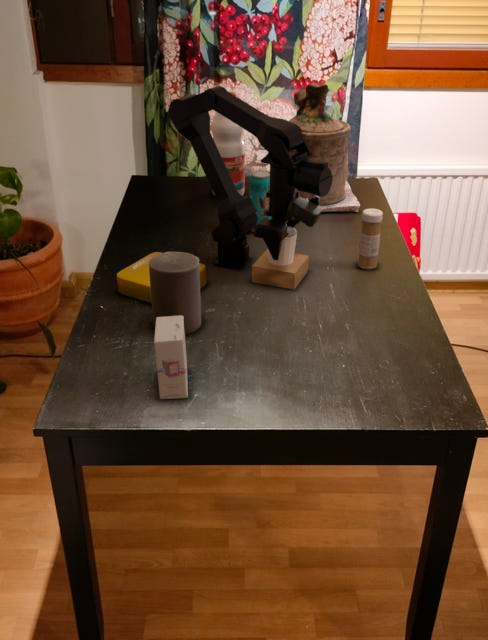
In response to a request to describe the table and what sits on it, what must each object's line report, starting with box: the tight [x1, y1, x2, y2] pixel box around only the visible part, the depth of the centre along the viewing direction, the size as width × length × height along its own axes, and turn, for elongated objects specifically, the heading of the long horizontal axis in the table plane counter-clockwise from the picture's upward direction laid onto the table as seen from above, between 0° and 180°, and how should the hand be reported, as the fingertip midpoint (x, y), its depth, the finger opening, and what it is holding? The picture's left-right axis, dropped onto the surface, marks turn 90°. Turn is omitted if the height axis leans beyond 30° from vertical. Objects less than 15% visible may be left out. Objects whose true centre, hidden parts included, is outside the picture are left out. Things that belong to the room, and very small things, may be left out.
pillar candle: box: [149, 251, 202, 335], centre depth 139 cm, size 10×10×15 cm
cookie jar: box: [288, 83, 361, 213], centre depth 195 cm, size 25×25×32 cm
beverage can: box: [249, 169, 271, 233], centre depth 180 cm, size 6×6×15 cm
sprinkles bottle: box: [357, 208, 384, 270], centre depth 163 cm, size 5×5×13 cm
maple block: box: [251, 248, 310, 290], centre depth 160 cm, size 10×10×4 cm
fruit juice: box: [210, 91, 246, 197], centre depth 199 cm, size 9×9×28 cm
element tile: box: [116, 251, 208, 305], centre depth 155 cm, size 15×15×5 cm
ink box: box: [153, 315, 189, 400], centre depth 122 cm, size 8×5×12 cm, turn 5°
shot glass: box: [266, 226, 298, 266], centre depth 157 cm, size 7×7×7 cm
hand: (280, 254), depth 159 cm, fingers closed on shot glass, 6 cm apart
